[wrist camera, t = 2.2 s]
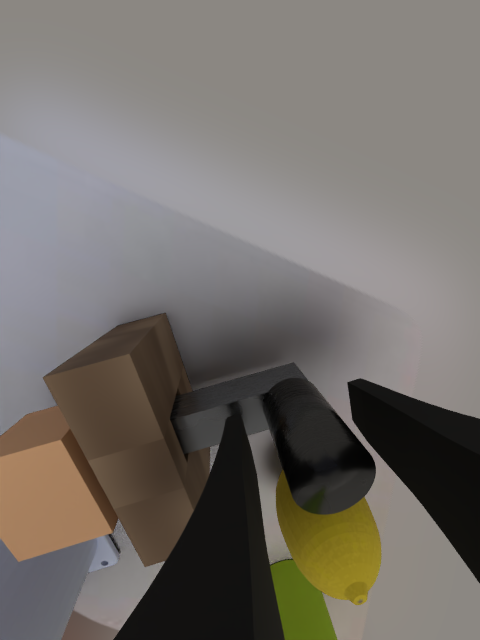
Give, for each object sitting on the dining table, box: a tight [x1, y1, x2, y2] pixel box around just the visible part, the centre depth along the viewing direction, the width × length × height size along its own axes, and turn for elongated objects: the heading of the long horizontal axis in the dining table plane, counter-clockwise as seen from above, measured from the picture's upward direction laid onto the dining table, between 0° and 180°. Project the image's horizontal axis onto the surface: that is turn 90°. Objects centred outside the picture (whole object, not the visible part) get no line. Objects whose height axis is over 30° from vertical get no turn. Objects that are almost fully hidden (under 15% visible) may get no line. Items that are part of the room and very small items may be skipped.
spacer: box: [0, 406, 118, 562], centre depth 11 cm, size 4×5×4 cm
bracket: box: [43, 313, 210, 567], centre depth 12 cm, size 3×10×6 cm, turn 14°
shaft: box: [170, 363, 376, 515], centre depth 10 cm, size 15×3×6 cm, turn 104°
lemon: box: [276, 470, 381, 605], centre depth 15 cm, size 6×6×8 cm
